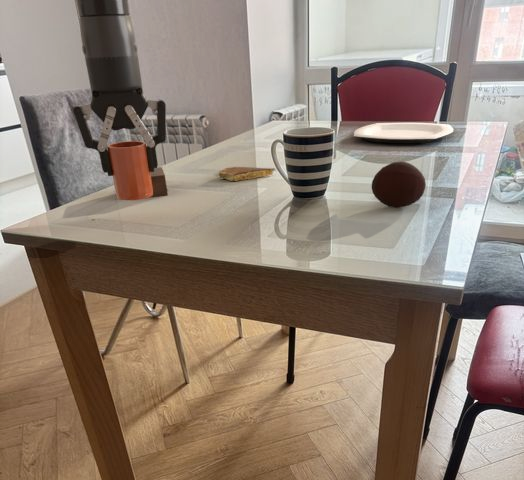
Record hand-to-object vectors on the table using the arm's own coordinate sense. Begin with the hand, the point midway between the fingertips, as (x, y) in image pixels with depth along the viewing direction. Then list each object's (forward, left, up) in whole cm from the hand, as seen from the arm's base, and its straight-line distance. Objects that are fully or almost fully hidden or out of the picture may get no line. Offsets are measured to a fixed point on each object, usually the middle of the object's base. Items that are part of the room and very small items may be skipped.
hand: (131, 172), depth 82 cm
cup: (0, 0, -4) cm, 4 cm away
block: (+2, +23, -9) cm, 25 cm away
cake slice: (+24, +28, -9) cm, 38 cm away
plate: (+76, +53, -9) cm, 93 cm away
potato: (+44, -7, -9) cm, 46 cm away
